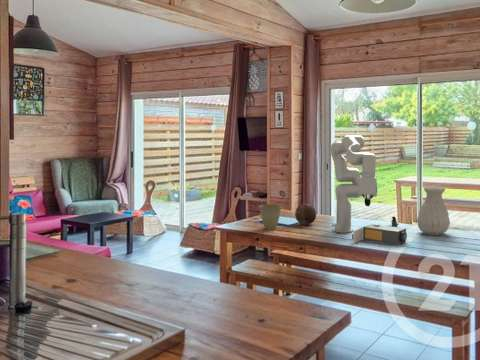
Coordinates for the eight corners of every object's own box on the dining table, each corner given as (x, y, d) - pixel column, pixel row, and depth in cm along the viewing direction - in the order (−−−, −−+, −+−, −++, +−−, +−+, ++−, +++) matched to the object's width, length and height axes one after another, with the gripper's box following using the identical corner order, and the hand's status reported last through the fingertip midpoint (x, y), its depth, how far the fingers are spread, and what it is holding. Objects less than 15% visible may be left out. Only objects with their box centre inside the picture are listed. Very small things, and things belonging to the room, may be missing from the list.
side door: (360, 238, 301) (360, 226, 300) (362, 238, 300) (363, 227, 299) (351, 243, 289) (351, 230, 288) (354, 243, 288) (354, 231, 287)
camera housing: (362, 239, 300) (363, 225, 299) (372, 236, 309) (372, 222, 308) (400, 245, 284) (400, 230, 283) (409, 242, 292) (409, 227, 291)
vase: (432, 238, 304) (433, 190, 301) (409, 231, 322) (411, 186, 319) (456, 235, 311) (458, 188, 308) (433, 229, 330) (435, 185, 327)
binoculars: (381, 217, 323) (397, 216, 321) (382, 232, 324) (398, 231, 322) (382, 219, 314) (398, 218, 312) (383, 235, 315) (400, 234, 313)
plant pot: (264, 226, 343) (264, 203, 342) (284, 228, 336) (284, 205, 335) (255, 230, 330) (255, 206, 329) (275, 232, 323) (275, 208, 322)
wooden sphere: (317, 223, 353) (317, 202, 352) (314, 227, 339) (314, 205, 337) (296, 222, 357) (296, 202, 356) (293, 226, 343) (293, 205, 341)
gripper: (353, 174, 286) (353, 205, 288) (379, 176, 278) (378, 208, 280) (357, 173, 292) (357, 203, 294) (383, 175, 284) (381, 206, 287)
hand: (367, 205), depth 287 cm, fingers closed
